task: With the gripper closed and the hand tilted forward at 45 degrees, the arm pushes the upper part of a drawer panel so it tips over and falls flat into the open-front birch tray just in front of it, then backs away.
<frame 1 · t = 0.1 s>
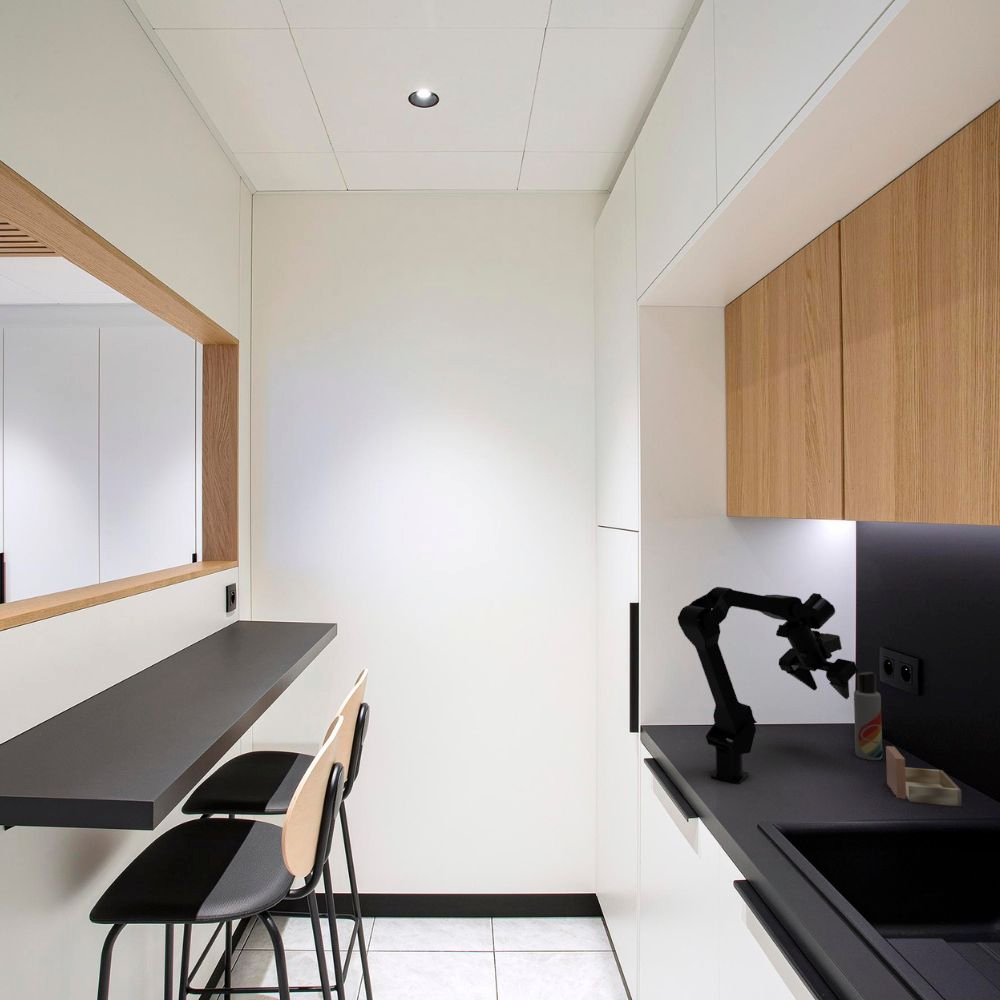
hand: (831, 693, 166), 15 cm above the counter, tool tilted 35°, fingers open, 9 cm apart
lotion bottle: (868, 757, 165), on the counter
drawer panel: (896, 791, 144), on the counter
tray: (917, 792, 143), on the counter
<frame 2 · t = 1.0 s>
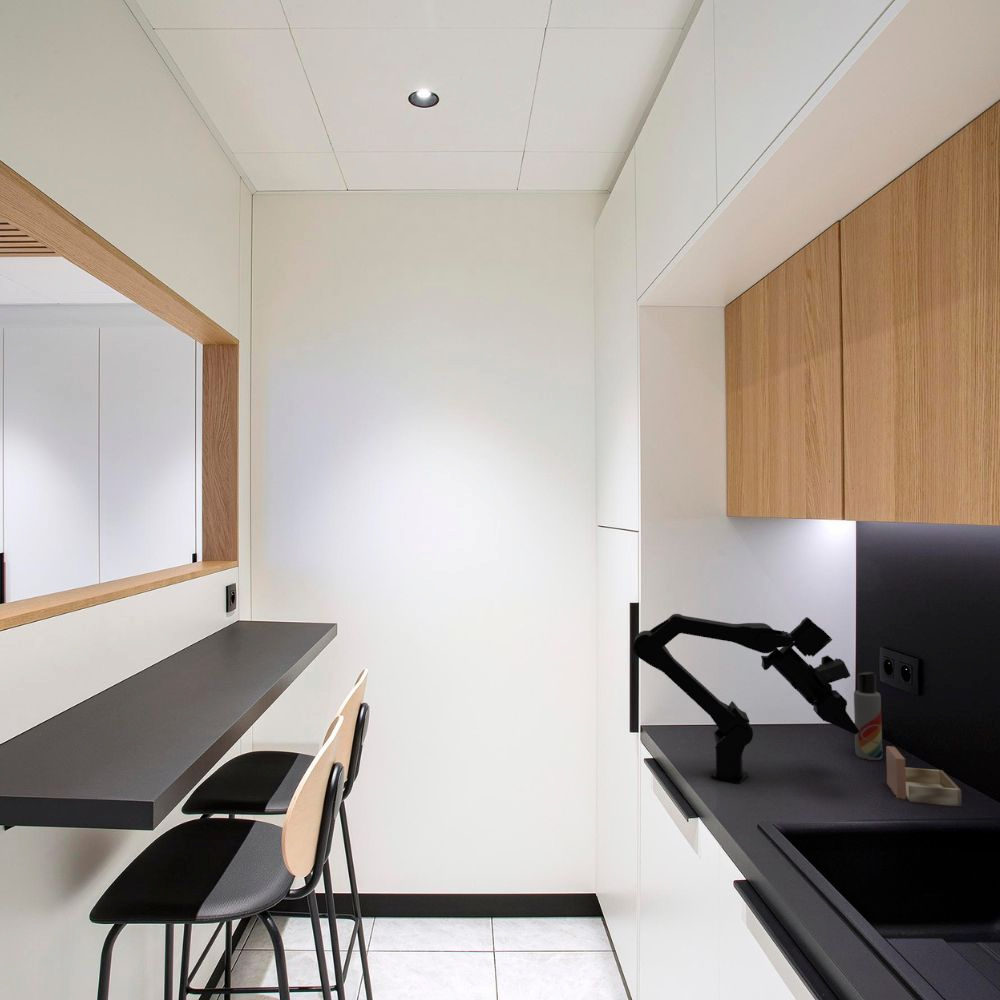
hand: (851, 726, 148), 12 cm above the counter, tool tilted 45°, fingers open, 9 cm apart
nothing on the counter moved.
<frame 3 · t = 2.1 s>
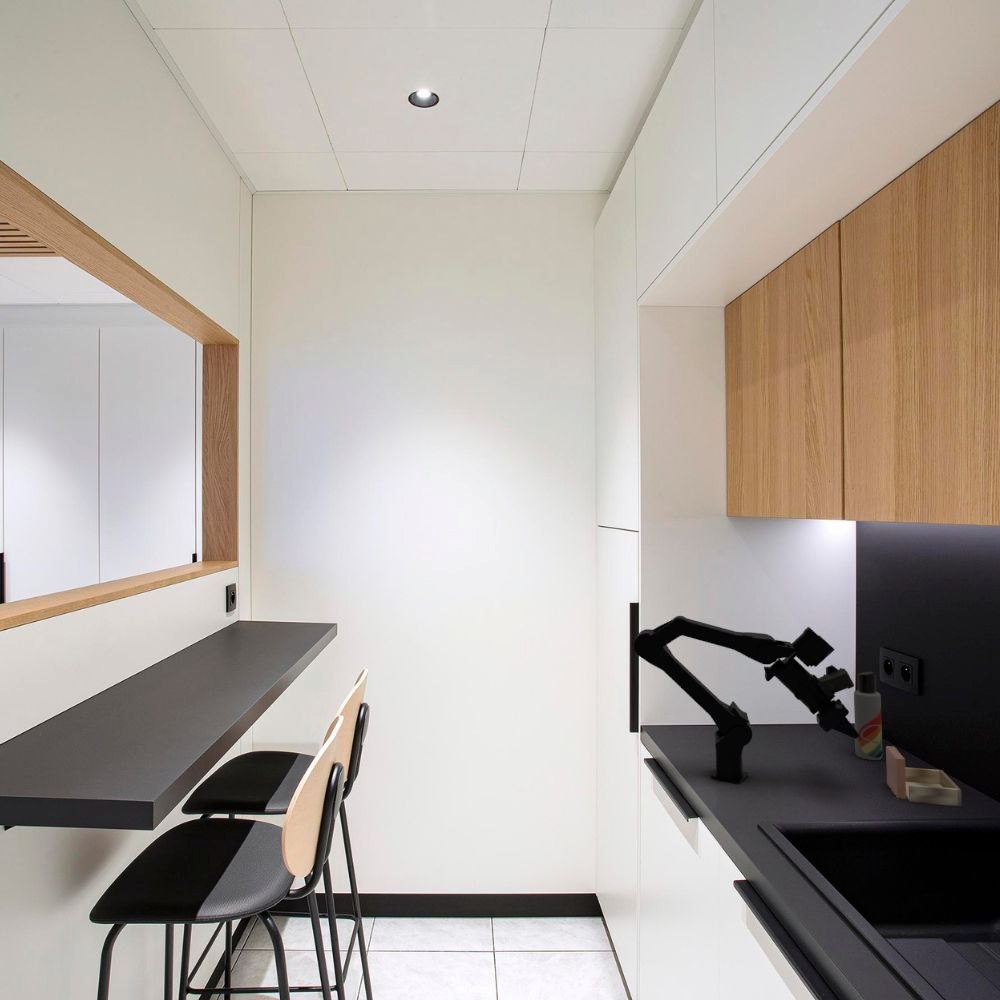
hand: (857, 736, 146), 11 cm above the counter, tool tilted 45°, fingers closed
nothing on the counter moved.
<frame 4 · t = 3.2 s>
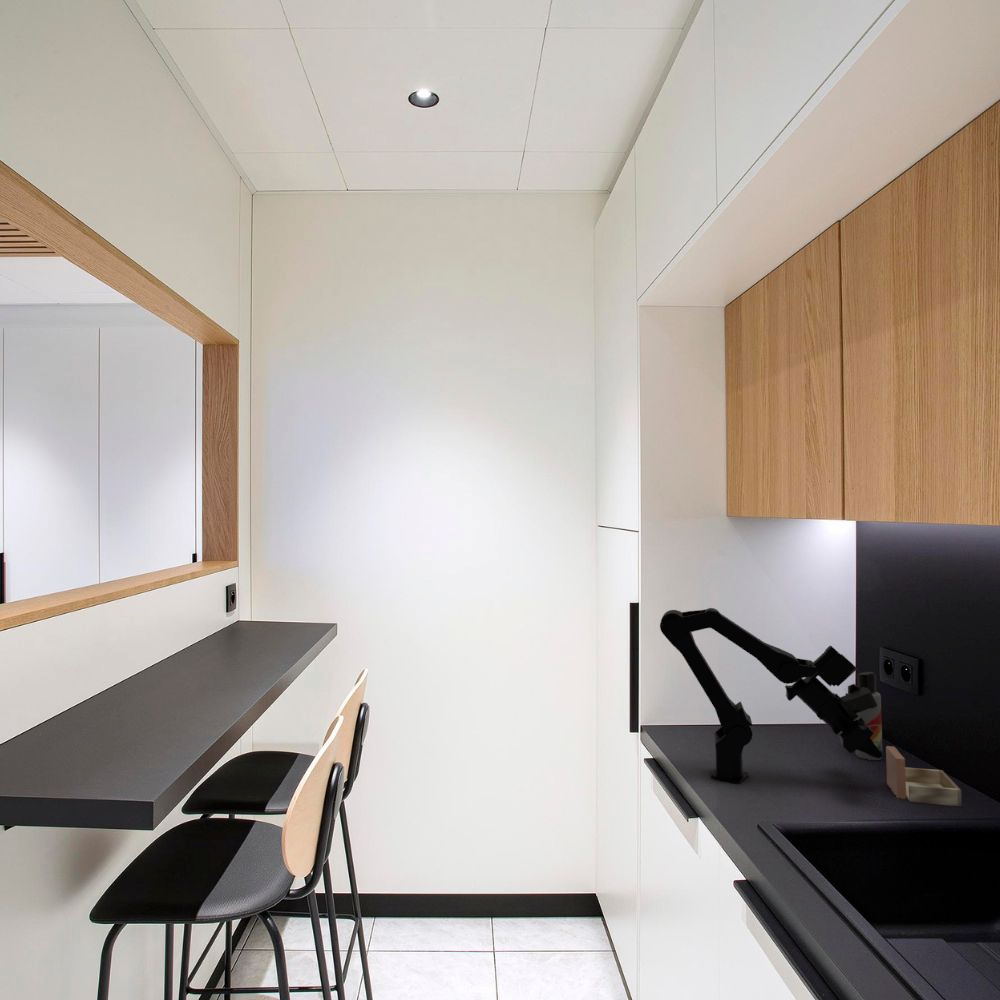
hand: (880, 756, 145), 7 cm above the counter, tool tilted 45°, fingers closed
nothing on the counter moved.
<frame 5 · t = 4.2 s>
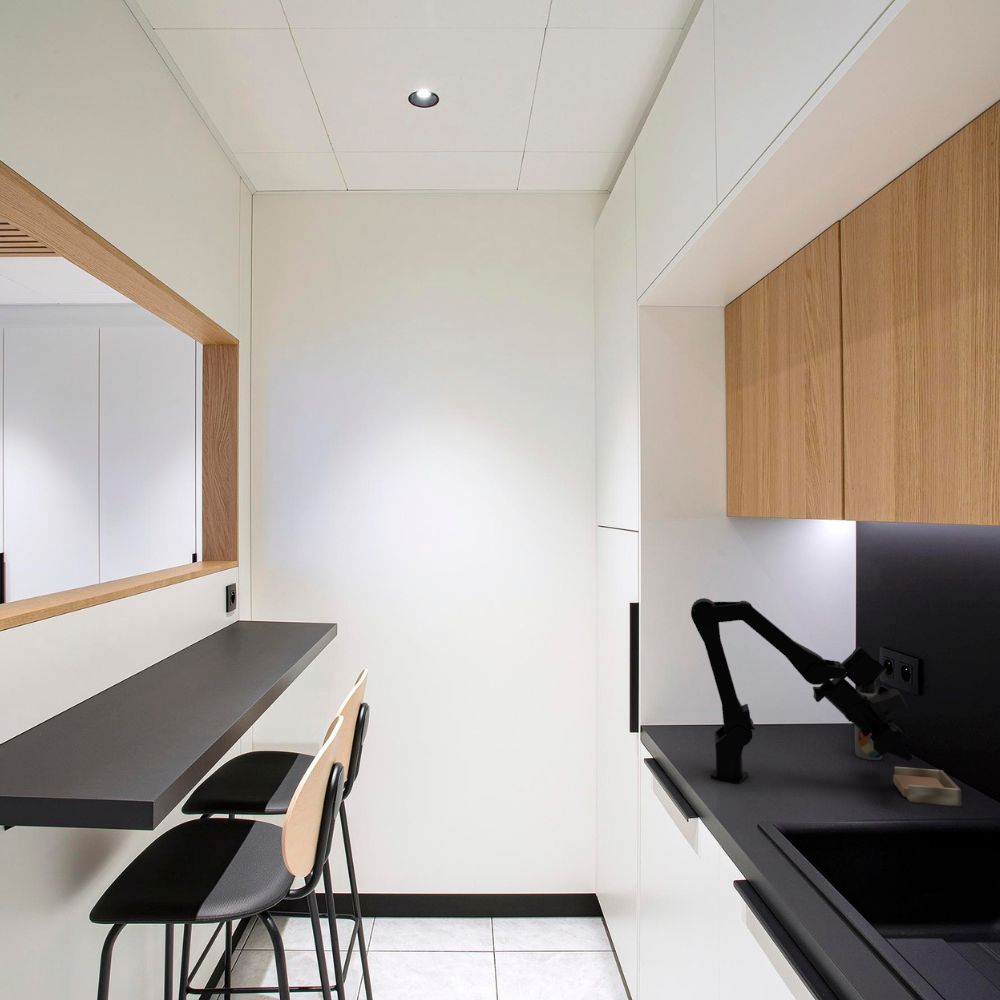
hand: (910, 758, 143), 7 cm above the counter, tool tilted 45°, fingers closed
drawer panel: (898, 785, 144), point 1 cm above the counter, tilted 90°, touching tray
everything else where it was.
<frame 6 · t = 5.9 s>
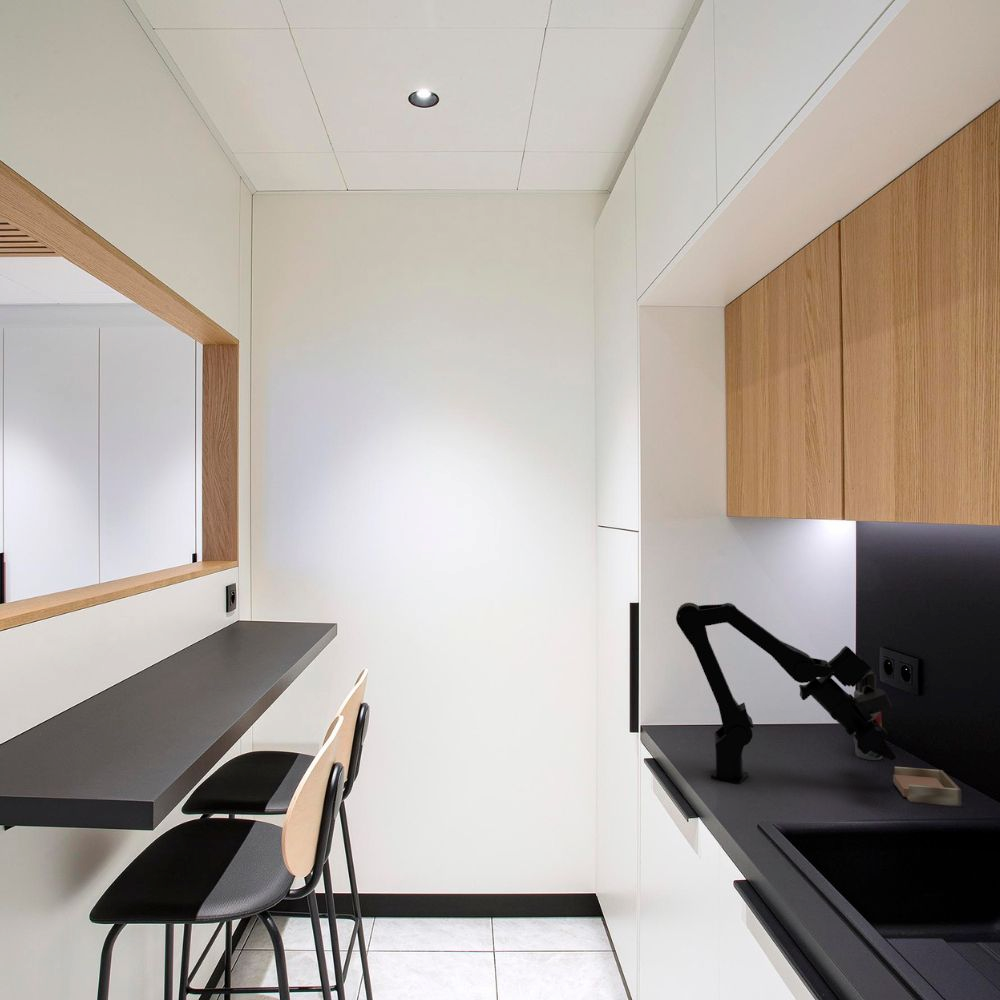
hand: (894, 758, 144), 7 cm above the counter, tool tilted 45°, fingers closed
nothing on the counter moved.
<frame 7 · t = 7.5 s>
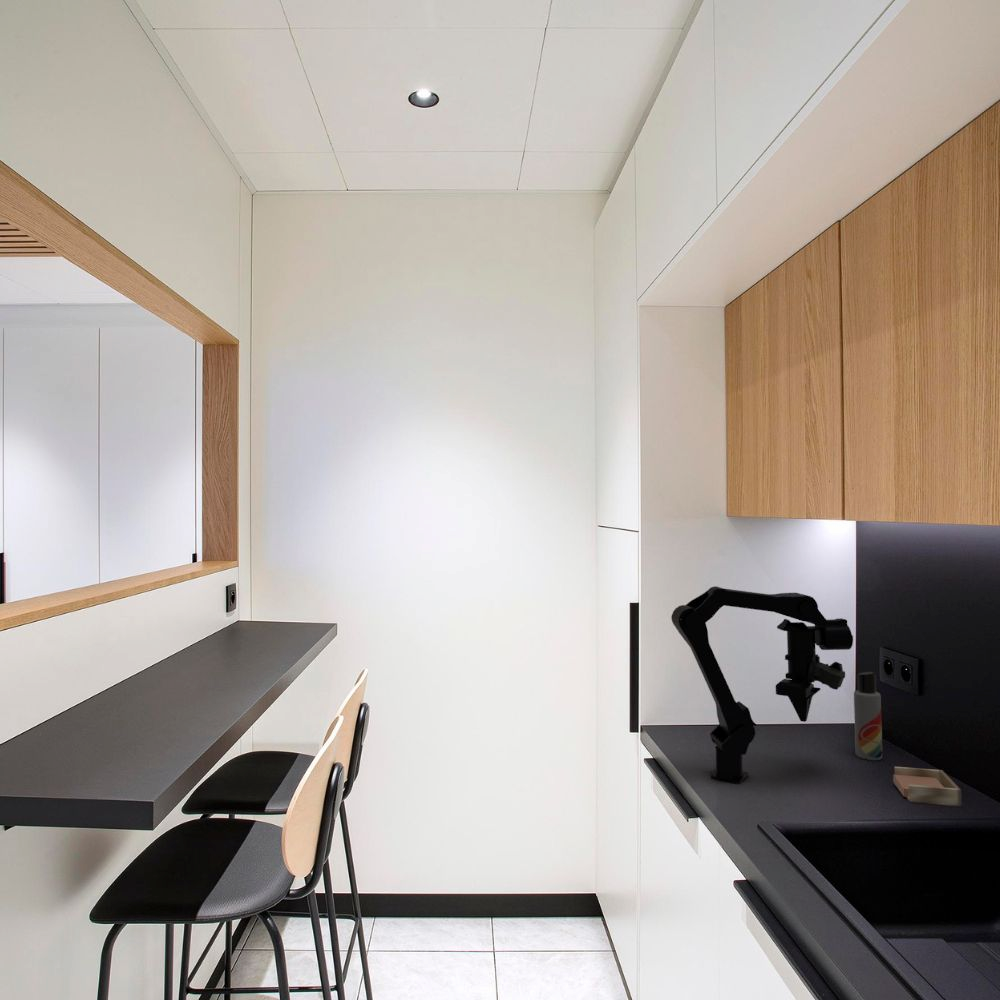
hand: (803, 721, 153), 12 cm above the counter, tool pointing down, fingers closed
nothing on the counter moved.
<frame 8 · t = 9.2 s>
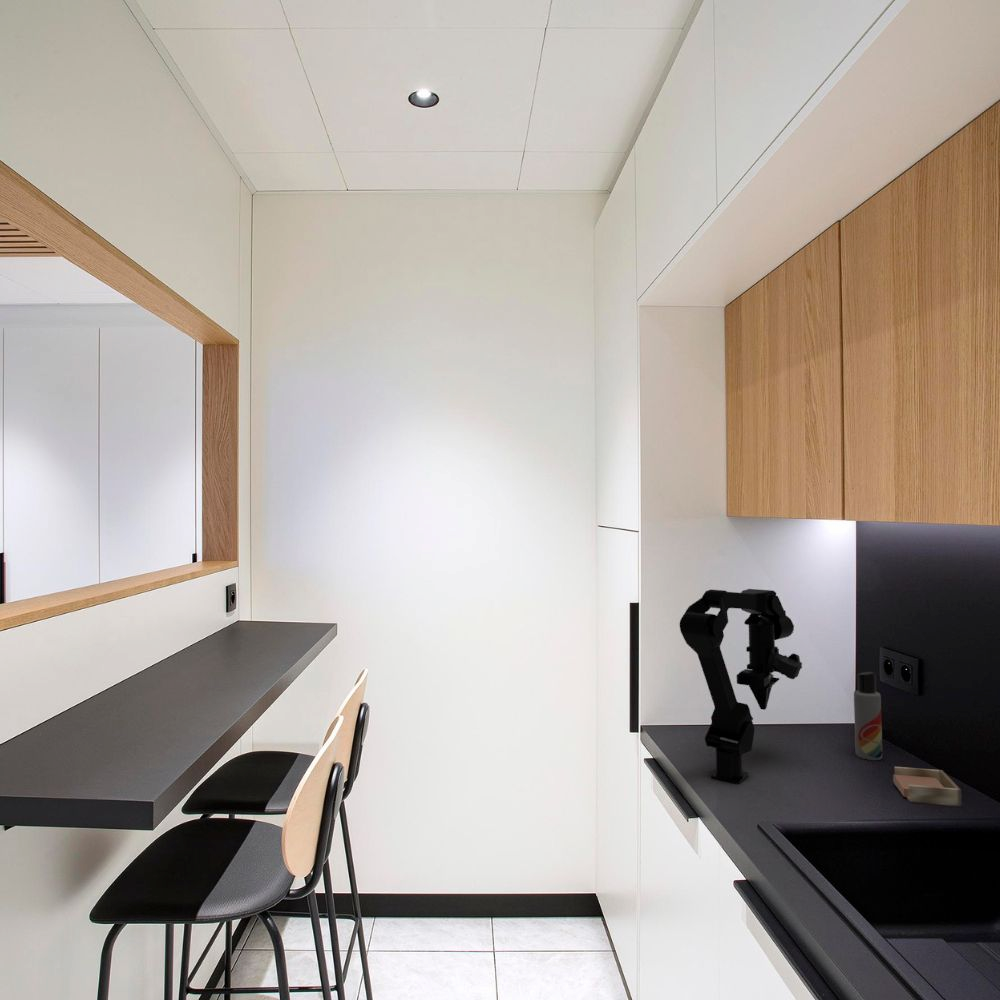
hand: (763, 709, 163), 12 cm above the counter, tool pointing down, fingers closed
nothing on the counter moved.
at the end: drawer panel tilted 90°; drawer panel 3.6 cm from the tray (horizontally); drawer panel point 1.2 cm above the counter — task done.
